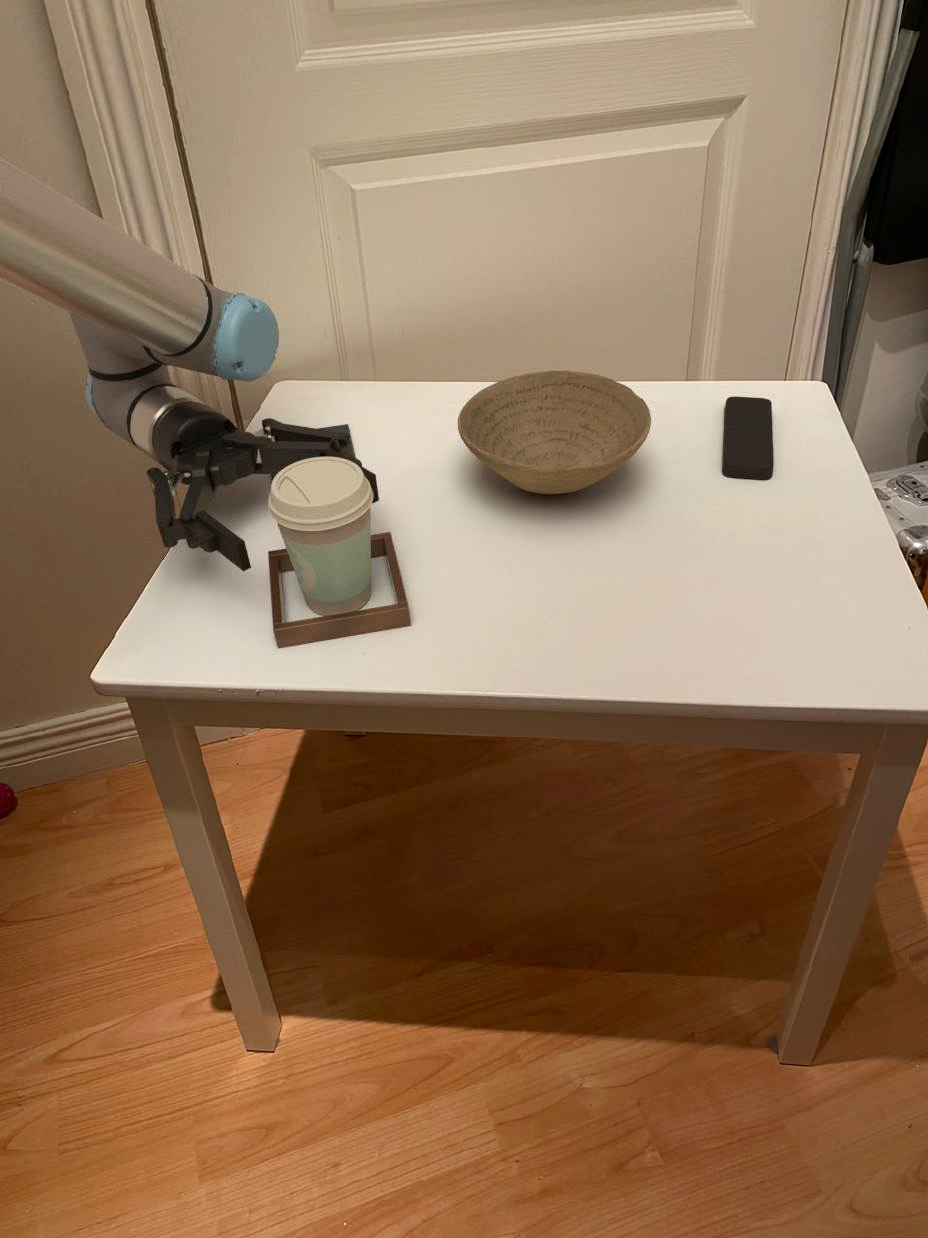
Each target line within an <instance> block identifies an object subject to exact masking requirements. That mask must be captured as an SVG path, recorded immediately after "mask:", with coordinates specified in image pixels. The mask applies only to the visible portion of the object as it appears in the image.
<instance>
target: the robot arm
mask: <svg viewBox="0 0 928 1238" xmlns="http://www.w3.org/2000/svg"><path fill="white" fill-rule="evenodd" d="M0 282H3V283H6V284H8V285H10V286H11V287H14V288H16V289H18V290H21V291H23V292H25V293H26V294H27V293H28V294H30V295H31V296H34V297H36V298H38V299H41V300H43V301H45V302H47V303H49V304H52V305H53V306H56V307H58V308H60V309H63V310H65V311H67V312H68V314H69V317H70V320H71V322H72V325H73V327H74V330H75V333H76V335H77V338H78V342H79V343H80V347H81V349H82V352H83V355H84V358H85V360H86V363H87V369H88V372H89V373H88V375H87V378H86V384H85V390H84V395H85V401H86V402H87V405H88V407H89V409H90V411H91V412H92V414H93V415H94V416H95V417H96V418H97V419H98V420H99V422H101V423H102V424H104V426H105V428H107V429H109V430H110V431H111V433H112V432H113V433H114V434H116V435H118V436H119V437H121V438H122V439H124V440H125V441H126V442H128V443H130V444H131V445H132V446H134V447H135V448H137V449H138V450H140V451H141V452H143V453H144V454H146V455H147V456H148V457H149V458H150V459H152V460H154V461H155V462H156V463H157V464H159V465H160V466H162V467H163V468H164V469H165V470H164V471H162V469H161V468H159V467H150V468H149V469H147V470H146V475H147V478H148V482H149V485H150V489H151V491H152V494H153V496H154V504H155V505H154V506H155V519H156V520H155V521H156V525H157V529H158V531H159V535H160V537H161V541H162V544H163V546H164V548H167V549H168V548H169V549H171V548H174V547H176V546H177V545H178V544H179V541H182V540H185V541H186V544H187V547H188V548H189V549H191V550H197V549H199V548H200V549H201V550H202V551H203V552H204V553H208V554H211V553H214V552H216V551H217V552H218V553H219V554H221V556H223V557H225V559H227V560H228V561H229V562H230V563H232V564H233V565H235V566H236V567H237V568H238V569H240V570H241V571H242V572H246V571H248V570H249V569H251V568H252V565H251V561H250V558H249V553H248V550H247V546H246V541H245V540H244V539H243V538H241V537H240V536H239V535H237V534H236V533H235V532H233V531H232V530H230V529H229V528H228V527H227V526H225V525H224V524H223V523H221V522H220V521H218V520H217V519H216V518H214V517H213V516H211V514H209V513H208V512H209V508H210V505H211V502H212V501H214V500H215V497H216V494H217V490H218V488H220V487H225V488H226V487H228V486H230V485H232V484H234V483H235V482H237V481H239V480H241V479H244V478H248V477H249V476H251V475H271V471H272V470H283V469H284V468H285V467H287V466H289V465H291V464H293V463H296V462H298V461H301V460H305V459H309V458H315V457H338V458H343V459H347V460H349V461H351V462H353V463H355V464H356V465H358V466H359V467H360V468H361V470H362V472H363V474H364V476H365V477H366V478H367V480H368V481H369V483H370V486H371V489H372V491H373V501H372V504H374V503H377V502H379V501H380V496H379V489H378V482H377V474H376V473H374V472H372V471H370V470H369V469H367V468H366V467H363V462H362V461H361V460H360V459H358V458H356V456H355V457H353V451H352V444H353V443H352V444H351V440H352V437H351V438H350V435H351V433H350V434H348V433H343V432H336V431H329V430H323V429H317V428H315V427H309V426H303V425H302V426H301V425H296V424H288V423H283V422H282V421H279V420H277V419H274V418H272V417H268V418H264V419H262V420H261V426H262V428H261V429H259V430H257V431H255V432H253V433H252V432H250V431H245V430H240V429H239V428H238V427H237V426H236V425H235V424H234V422H232V420H230V419H229V417H227V416H226V415H224V414H223V413H221V412H219V411H218V410H216V409H214V408H213V407H212V406H210V405H208V404H207V403H205V402H204V401H202V400H201V399H199V398H197V397H195V396H194V395H193V394H191V393H189V392H187V391H185V390H184V389H183V388H182V387H181V388H180V387H179V386H177V385H176V384H174V383H173V381H172V379H171V376H170V372H169V368H168V366H171V367H175V368H179V369H180V368H181V369H184V370H187V371H192V372H196V373H201V374H205V375H209V376H214V377H218V378H221V380H224V381H229V380H232V381H233V380H234V381H239V382H253V381H256V380H258V379H261V378H262V377H264V376H265V375H266V374H267V373H268V372H269V370H270V369H271V368H272V366H273V364H274V363H275V361H276V354H277V350H278V348H279V344H280V329H279V325H278V324H279V323H278V321H277V318H276V315H275V314H274V311H273V309H272V308H271V306H269V305H268V304H267V303H266V302H265V301H263V300H262V299H259V298H256V297H252V296H248V295H245V293H243V292H234V293H233V292H232V293H231V292H228V291H225V290H222V289H220V288H218V287H216V286H215V285H213V284H212V283H210V282H208V281H207V280H205V279H203V278H201V277H200V276H198V275H196V274H194V273H191V272H190V271H188V270H187V269H186V268H183V266H180V265H179V264H178V263H175V262H174V261H172V260H170V259H168V258H167V257H165V256H164V255H162V254H161V253H159V252H157V251H156V250H154V249H152V248H151V247H149V246H147V245H146V244H144V243H143V242H141V241H139V240H137V238H134V237H133V236H131V235H130V234H128V233H126V232H125V231H123V230H121V229H120V228H118V227H116V226H115V225H113V224H111V223H110V222H109V221H106V220H105V219H103V218H102V217H100V216H98V215H97V214H95V213H93V212H92V211H90V210H88V209H86V207H84V206H82V205H80V204H78V203H77V202H75V201H73V200H72V199H70V198H69V197H67V196H65V195H64V194H62V193H61V192H58V191H57V190H55V189H54V188H52V187H51V186H49V185H47V184H46V183H44V182H42V181H41V180H40V179H37V178H36V177H34V176H33V175H31V174H30V173H28V172H26V171H25V170H22V169H21V168H19V167H18V166H16V165H15V164H13V163H11V162H10V161H8V160H6V159H5V158H3V157H1V156H0ZM258 455H259V457H260V462H258ZM179 482H180V483H181V484H183V485H186V486H188V488H187V491H186V494H185V497H184V500H183V503H182V506H181V509H180V511H179V514H178V518H177V515H176V504H175V500H174V496H176V491H175V490H176V489H177V488H178V483H179ZM372 504H371V505H372Z"/></svg>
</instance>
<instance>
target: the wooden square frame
mask: <svg viewBox="0 0 928 1238" xmlns="http://www.w3.org/2000/svg"><path fill="white" fill-rule="evenodd" d="M267 554H268V555H267V557H268V573H269V586H270V601H271V618H272V631H273V635H274V639H275V644H276V647H277V648H278V649H280V648H286V647H292V646H298V645H303V644H309V643H316V642H321V641H327V640H333V639H339V638H345V637H350V636H351V637H352V636H356V635H361V634H362V635H363V634H368V633H373V632H380V631H385V630H391V629H398V628H402V627H408V626H411V625H412V624H411V623H412V621H411V614H410V607H409V603H408V599H407V595H406V591H405V586H404V582H403V577H402V573H401V569H400V565H399V561H398V556H397V553H396V549H395V546H394V540H393V537H392V532H391V531H386V532H382V533H373V534H371V558H377V557H382V556H385V559H386V564H387V568H388V572H389V577H390V582H391V587H392V590H393V595H394V599H395V602H396V603H394V604H389V605H388V604H387V605H383V606H377V607H376V606H375V607H371V608H366V609H364V608H363V609H358V610H357V611H352V612H346V613H340V614H334V615H328V616H325V615H321V616H317V617H312V618H305V619H299V620H293V621H287V622H286V617H285V616H286V615H285V603H284V594H283V592H284V591H283V579H282V573H283V572H290V571H294V568H293V565H292V563H291V560H290V557H289V554H288V552H287V549H286V548H281V549H280V548H279V549H274V550H268V551H267Z"/></svg>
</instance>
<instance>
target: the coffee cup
mask: <svg viewBox="0 0 928 1238" xmlns="http://www.w3.org/2000/svg"><path fill="white" fill-rule="evenodd" d="M372 501H373V491H372V489H371V486H370V483H369V481H368V480H367V478H366V477H365V476H364V474H363V472H362V470H361V468H360V467H359V466H358V465H356V464H355V463H353V462H351V461H349V460H347V459H343V458H338V457H315V458H309V459H305V460H301V461H298V462H296V463H293V464H291V465H289V466H287V467H285V468H284V469H283V470H281V471H280V472H279V473H278V474H277V475H276V476H275V478H274V479H273V481H272V480H271V486H270V492H269V495H268V512H269V515H270V516H271V518H272V519H273V520H274V521H275V522H276V524H277V527H278V529H279V532H280V535H281V538H282V540H283V544H284V546H285V549H287V552H288V554H289V557H290V560H291V563H292V565H293V568H294V570H293V571H294V573H295V576H296V579H297V582H298V584H299V587H300V590H301V592H302V595H303V597H304V600H305V603H306V606H307V607H308V608H309V609H310V610H311V611H312V612H314V613H315V614H317V615H321V616H328V615H334V614H340V613H346V612H352V611H358V610H361V608H363V607H364V606H365V605H366V604H367V603H368V601H369V600H370V598H371V595H372V557H371V535H372V533H371V532H372V531H371V505H372Z"/></svg>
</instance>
